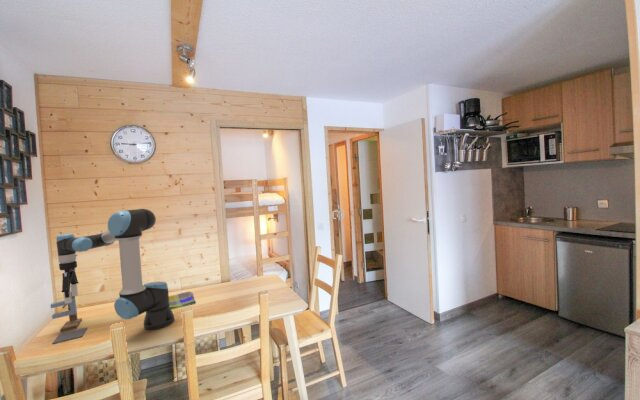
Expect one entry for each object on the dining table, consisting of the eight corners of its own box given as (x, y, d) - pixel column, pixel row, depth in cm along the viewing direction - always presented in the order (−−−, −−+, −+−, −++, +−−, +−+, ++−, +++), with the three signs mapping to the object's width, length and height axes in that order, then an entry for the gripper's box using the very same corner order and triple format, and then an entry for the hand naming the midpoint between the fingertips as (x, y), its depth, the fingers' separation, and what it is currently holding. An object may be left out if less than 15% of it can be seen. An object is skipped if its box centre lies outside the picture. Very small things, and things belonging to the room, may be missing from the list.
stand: (74, 331, 163) (70, 298, 162) (58, 335, 160) (54, 301, 159) (81, 320, 178) (78, 290, 178) (67, 323, 175) (63, 293, 174)
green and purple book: (165, 311, 183) (165, 307, 183) (165, 300, 204) (164, 296, 204) (196, 304, 191) (195, 300, 191) (192, 294, 212) (192, 290, 212)
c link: (76, 312, 167) (74, 298, 167) (75, 313, 165) (73, 299, 165) (54, 317, 163) (51, 303, 162) (52, 319, 160) (50, 304, 160)
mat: (82, 337, 155) (81, 335, 155) (52, 344, 150) (52, 343, 150) (87, 328, 166) (87, 327, 166) (59, 334, 160) (59, 333, 160)
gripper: (70, 265, 155) (74, 304, 156) (81, 256, 177) (85, 291, 178) (51, 267, 152) (56, 308, 153) (65, 258, 174) (69, 294, 175)
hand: (71, 299), depth 165 cm, fingers open, 13 cm apart
